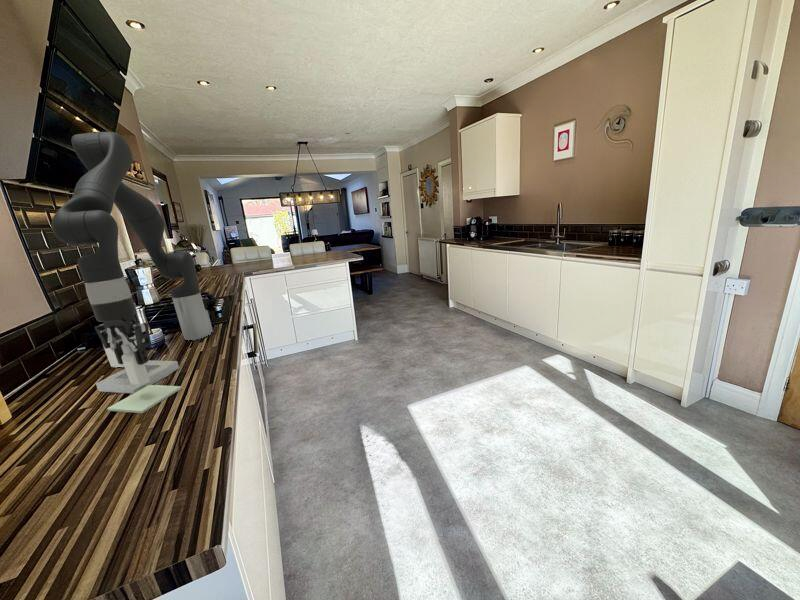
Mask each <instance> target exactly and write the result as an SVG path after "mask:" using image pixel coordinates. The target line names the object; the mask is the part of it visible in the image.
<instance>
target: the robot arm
mask: <svg viewBox="0 0 800 600" xmlns="http://www.w3.org/2000/svg"><path fill="white" fill-rule="evenodd" d="M70 140H71V144H72V145H71V146H72V148H73V151H74V152H75V155H76V156H77V157H78V159H79V160H80V162H81V163H82V164H83V165H84V167H85V168H86V170H87V172H86V173H85V174H83V175H82V176H81V177H80V178H79V180H78V181H77V183H76V184H75V187H74V190H73V194H72V197H71V198H69V200H67V201H66V202H65V203H64V204H63V205H62V206H61V207H60V208H59V209H58V210H57V211H56V212H55V214H54V215H53V217H52V221H51V231H52V233H53V235H54V236H55V237H56V238H57V239H58V240H59V241H60V242H62V243H64V244H66V245H69V246H70V245H71V246H82V245H90V244H91V245H92V244H98V247H97V249H96V252H93V253H90V254H86V255H84V256H80V257H79V258H78V259H77V262H76V263H77V266H78V269H79V272H80V275H81V278H82V281H83V283H84V287H85V292H86V296H87V298H88V300H89V303H90V307H91V308H92V312H93V314H94V317H95V320H96V321H97V322H100V323H102V324H99V325H97V326H94V329H95V332H96V334H97V335H98V338H99V339H100V341H101V343H103V344H102V346H103V345H104V346H103V348H104V347H105V348H106V349H107V348H110V349H111V350H112V351H114V353H115V356H116V358H117V361H118V363H119V364H123V361H122V355H123V354H124V353H123V350H122V348H121V345H122V344H124V342H125V343H126V344H129V345H130V346H131V348H132V349H133V351H134V355H135V358H136V361H137V364H138V365H142V364H144V363H146V362H148V360H149V357H148V354H147V350H146V347H147V348H148V346H151V345H152V340H151V334H150V330H149V324H148V323H147V322H142V323H138V322H137V320H136V319H135V317H134V316H135V315H136V314H137V308H136V304H135V301H134V299H133V296H132V295H133V294H132V293H131V290H130V286H129V284H128V282H127V280H126V279H125V275H124V272H123V269H122V266H121V263H120V258H119V248H118V247H119V225H118V223H117V221H116V220H115V217H114V216H113V215H111V214H112V212H113V208H114V205H115V206H116V208H117V209H118V211H119V213H120V215H122V217H123V219H124V221H125V222H126V224H127V225H128V226H129V227H130V228H131V230H132V231H133V233H134V234H135V235H136V237H137V238H138V240H139V241H140V242H141V244H142V245H143V247H144V249H145V250H146V252H147V253H148V255H149V257H150V258H151V261H152V263H153V265H154V266H155V267H156V269H157V271H158V272H159V274H160V275H161V276H162V277H163V278H165V279H168V280H169V279H172V280H173V279H180V278H183V282H182V283H181V284H180V285H178V286H176V287H174V288H172V289H171V290H170V295H171V298H172V302H173V305H174V309H175V312H176V316H177V319H178V322H179V326H180V329H181V332H182V336H183V339H185V340H188V341H187V342H190V341H189V340H193V341H197V339H198V340H201V338H202V339H205V338H207V337H209V336H211V335H212V333H214V330H213V327H212V323H211V319H210V315H209V311H208V310H207V309H205V305H204V302H203V297H202V295H201V294H202V293H201V289H200V284H199V279H198V275H197V270H196V265H195V260H194V258H193V256H192V254H191V253H190V252H187V251H180V252H169V253H167V252H166V251H164V249H163V246H162V240H163V237H164V233H165V228H166V227H165V224H166V223H165V220H164V217H163V216H162V215H161V213H160V212H159V209H158V208H157V206H156V205H155V203H153V201H152V200H150V199H149V198H148V197H146V196H144V195H143V194H141V193H140V192H139V191H137V190H135V189H133V188H131V187H130V186H128V185H126V184H125V183H124V182H123V180H124V178H125V177H126V175H127V173H128V172H129V170H130V169H131V167H132V165H133V158H134V157H133V153H132V152H133V151H132V149H131V147H130V146H129V144H128V142H127V140H126V139H125V138H124V137H123V136H122V135H121V134H119V133H118V132H114V131H101V132H100V131H99V132H97V131H96V132H88V133H87V132H85V133H77V134H74V135H73V136H72V137H71V139H70ZM211 332H212V333H211ZM134 335H135V336H136V337H135V338H132V339H130V338H131V337H134ZM208 335H209V336H208ZM206 336H207V337H206ZM204 337H205V338H204ZM107 338H108V341H107ZM185 340H184V341H185ZM134 341H136V342H137V346H136V344H135V343H134ZM108 342H109V343H108Z"/></svg>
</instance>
